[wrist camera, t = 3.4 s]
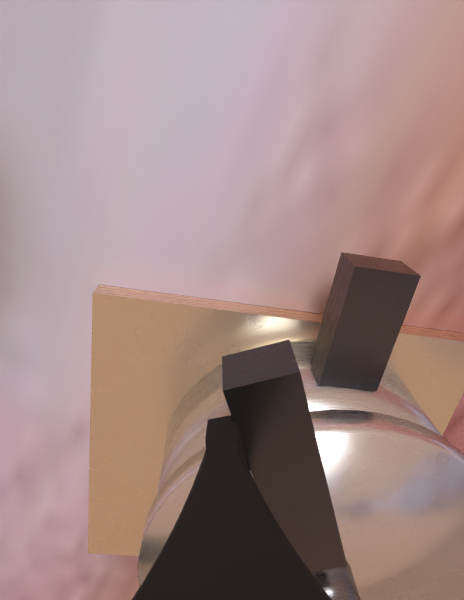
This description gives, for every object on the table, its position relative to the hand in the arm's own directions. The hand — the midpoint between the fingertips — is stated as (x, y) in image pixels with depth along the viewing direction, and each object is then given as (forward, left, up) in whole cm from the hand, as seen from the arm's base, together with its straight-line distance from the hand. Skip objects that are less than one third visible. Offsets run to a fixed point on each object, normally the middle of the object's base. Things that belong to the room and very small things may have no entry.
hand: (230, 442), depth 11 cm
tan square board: (-3, +7, -9) cm, 11 cm away
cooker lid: (-4, +6, -2) cm, 7 cm away
